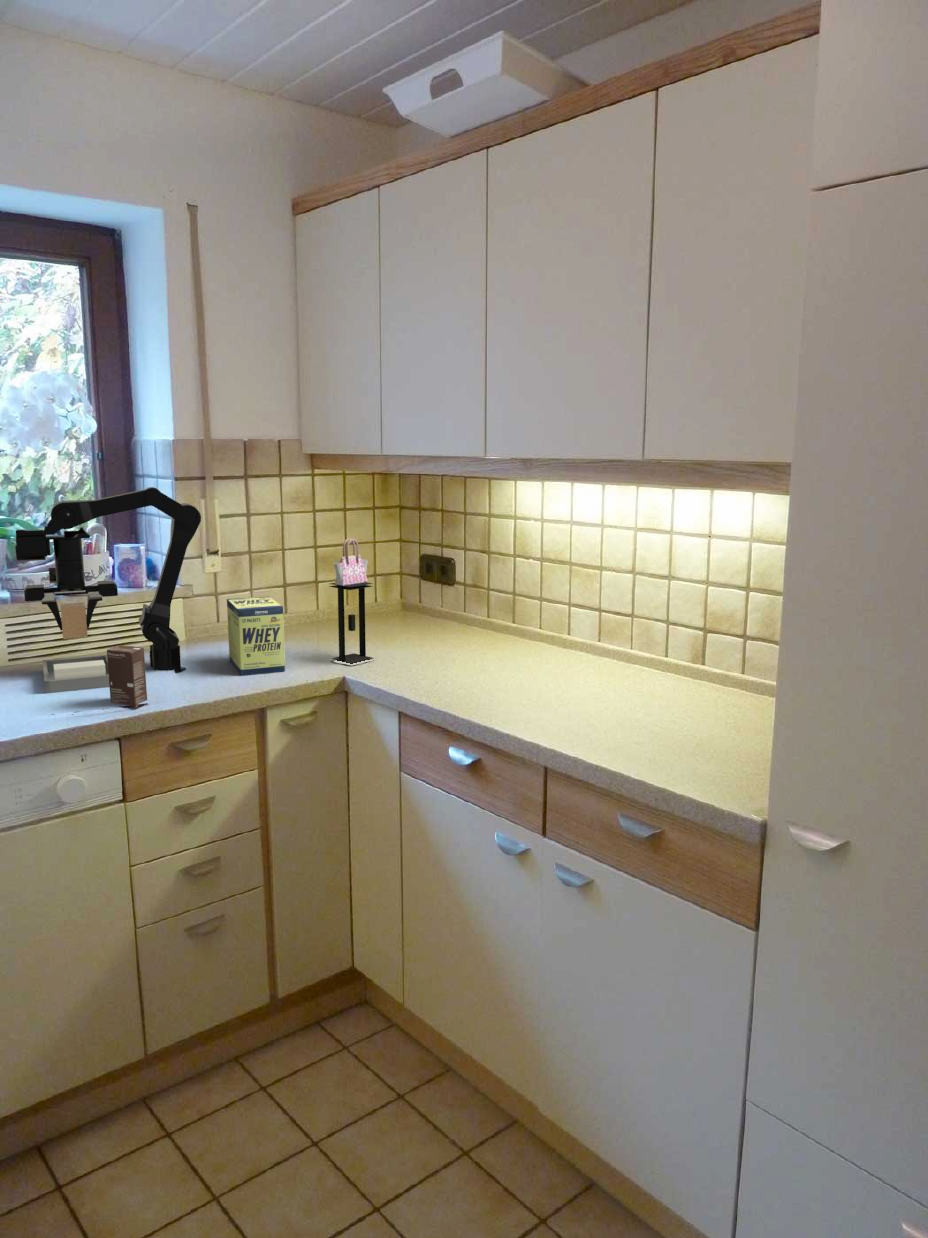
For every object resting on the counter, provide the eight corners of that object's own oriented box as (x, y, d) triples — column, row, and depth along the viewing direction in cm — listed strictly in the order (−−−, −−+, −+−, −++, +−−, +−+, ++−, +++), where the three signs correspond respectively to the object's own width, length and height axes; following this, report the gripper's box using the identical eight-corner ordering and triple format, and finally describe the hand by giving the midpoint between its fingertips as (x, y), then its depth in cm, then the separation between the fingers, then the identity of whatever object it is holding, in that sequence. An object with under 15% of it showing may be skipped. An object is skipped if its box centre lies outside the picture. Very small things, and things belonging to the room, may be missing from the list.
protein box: (241, 676, 210) (238, 609, 207) (228, 661, 224) (225, 598, 221) (286, 672, 215) (284, 606, 212) (271, 657, 229) (269, 595, 226)
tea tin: (87, 637, 204) (85, 605, 203) (63, 639, 202) (60, 607, 201) (86, 632, 208) (84, 602, 207) (62, 634, 206) (60, 603, 205)
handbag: (357, 655, 231) (355, 535, 225) (378, 660, 226) (377, 537, 220) (325, 662, 223) (322, 538, 218) (346, 667, 219) (343, 541, 213)
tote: (117, 690, 198) (116, 674, 197) (46, 698, 192) (44, 681, 191) (109, 669, 216) (108, 654, 215) (43, 675, 210) (42, 660, 209)
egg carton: (106, 685, 198) (105, 664, 197) (55, 690, 194) (54, 669, 193) (104, 679, 203) (103, 659, 202) (55, 684, 199) (53, 664, 198)
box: (109, 707, 186) (105, 649, 183) (124, 701, 190) (120, 644, 188) (135, 710, 184) (131, 651, 182) (149, 704, 188) (145, 646, 186)
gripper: (112, 552, 213) (116, 619, 216) (22, 556, 205) (28, 625, 208) (115, 558, 203) (120, 628, 206) (21, 563, 195) (28, 635, 198)
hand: (74, 629), depth 205 cm, fingers closed on tea tin, 5 cm apart
